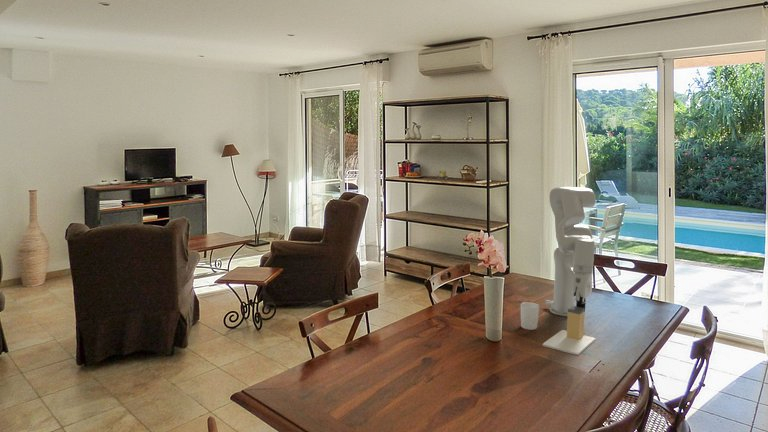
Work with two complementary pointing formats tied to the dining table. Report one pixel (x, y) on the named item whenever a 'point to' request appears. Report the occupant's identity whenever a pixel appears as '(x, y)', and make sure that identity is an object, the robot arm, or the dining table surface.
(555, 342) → the white board
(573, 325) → the ochre block
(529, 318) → the white cup
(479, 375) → the dining table surface
